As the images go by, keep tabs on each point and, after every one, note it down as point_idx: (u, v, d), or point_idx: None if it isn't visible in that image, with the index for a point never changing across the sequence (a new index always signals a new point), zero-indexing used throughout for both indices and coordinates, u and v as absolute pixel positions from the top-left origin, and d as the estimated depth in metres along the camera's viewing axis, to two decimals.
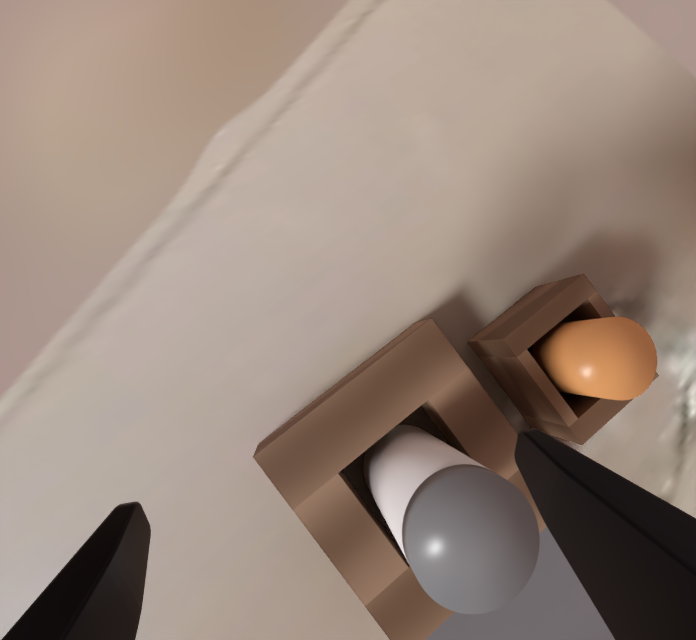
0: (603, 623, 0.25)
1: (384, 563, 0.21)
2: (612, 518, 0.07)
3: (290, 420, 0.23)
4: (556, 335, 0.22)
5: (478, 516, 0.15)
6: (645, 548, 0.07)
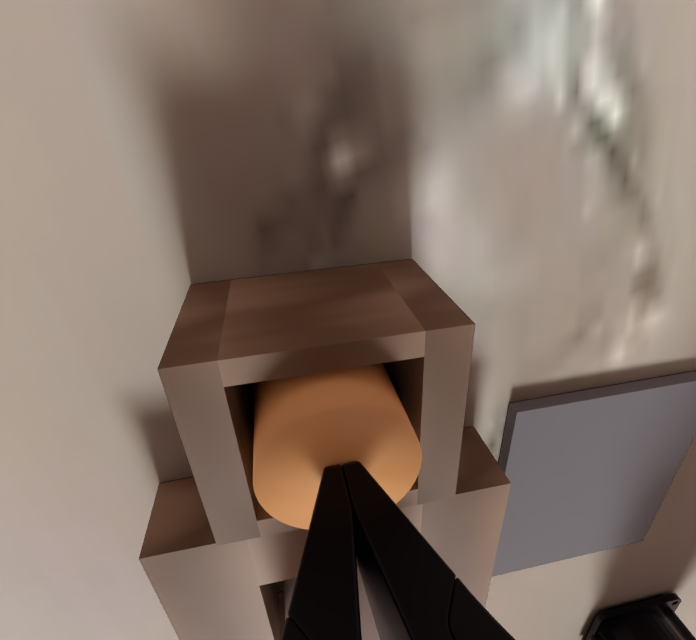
0: (645, 436, 0.19)
1: None
2: (378, 571, 0.07)
3: None
4: None
5: None
6: (393, 608, 0.06)
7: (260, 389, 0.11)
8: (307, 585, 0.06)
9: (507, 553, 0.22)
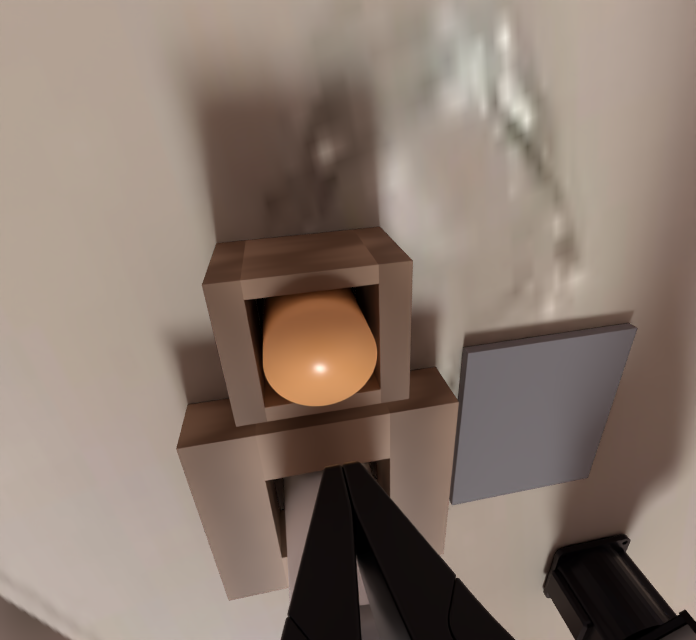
0: (577, 379, 0.24)
1: None
2: (378, 570, 0.07)
3: None
4: None
5: None
6: (393, 608, 0.06)
7: (267, 311, 0.15)
8: (307, 585, 0.06)
9: (470, 482, 0.26)
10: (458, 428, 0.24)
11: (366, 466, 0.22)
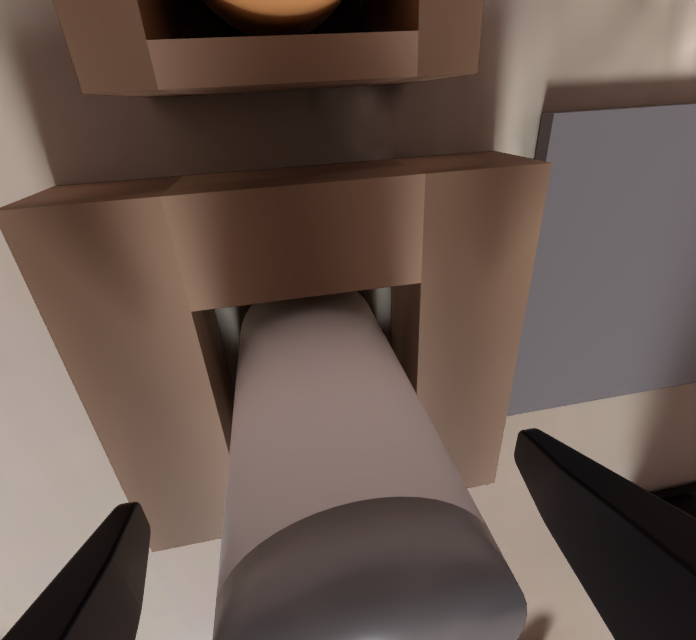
0: None
1: None
2: (612, 518, 0.07)
3: None
4: None
5: None
6: (645, 548, 0.07)
7: None
8: None
9: (531, 378, 0.17)
10: None
11: (376, 321, 0.13)
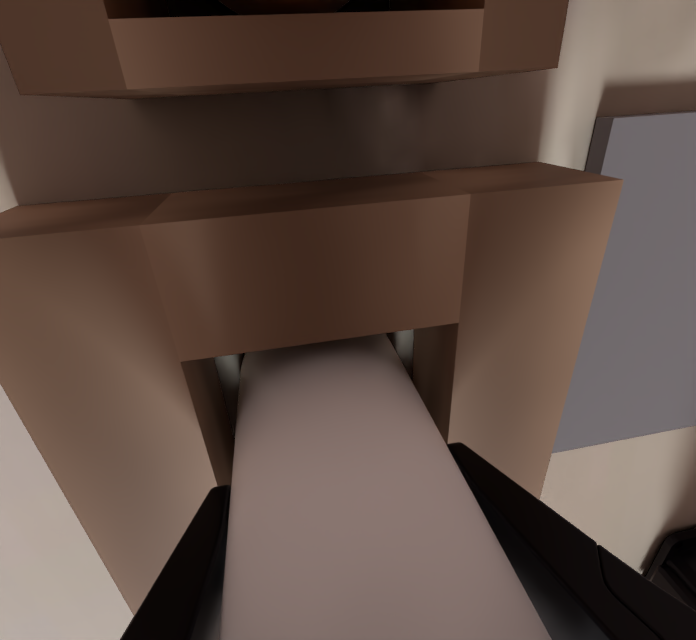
0: None
1: None
2: (514, 540, 0.07)
3: None
4: None
5: None
6: (540, 573, 0.07)
7: None
8: (142, 622, 0.06)
9: (568, 415, 0.15)
10: None
11: (400, 361, 0.11)
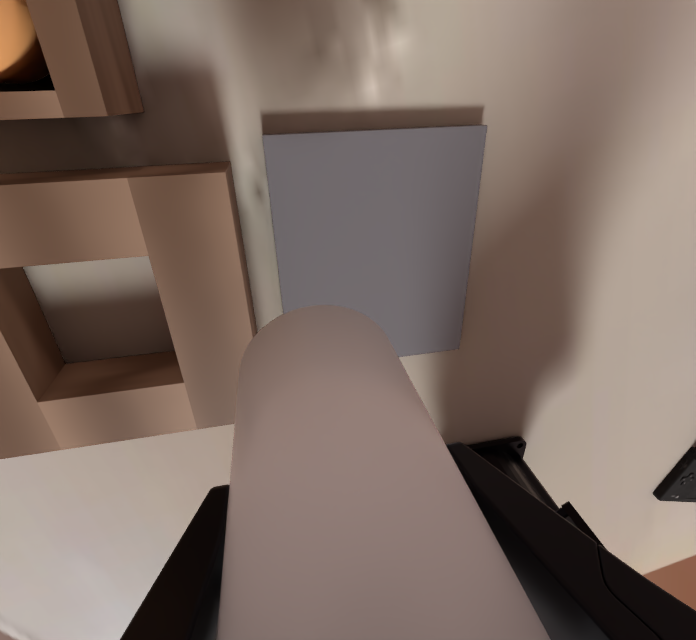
0: (421, 197, 0.19)
1: (165, 400, 0.19)
2: (514, 540, 0.07)
3: None
4: None
5: None
6: (540, 573, 0.07)
7: None
8: (142, 622, 0.06)
9: None
10: (277, 258, 0.20)
11: (399, 361, 0.11)
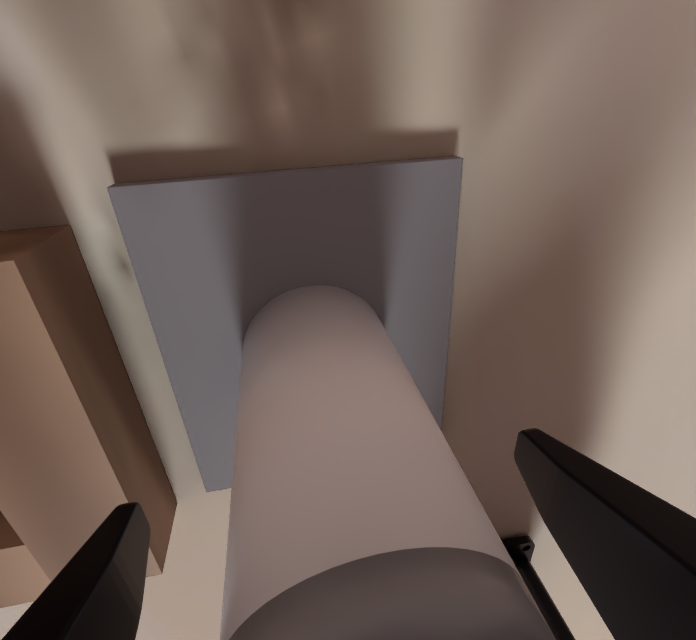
0: (369, 263, 0.13)
1: (2, 567, 0.13)
2: (612, 518, 0.07)
3: None
4: None
5: None
6: (645, 548, 0.07)
7: None
8: None
9: (224, 453, 0.16)
10: (164, 353, 0.14)
11: (387, 334, 0.12)
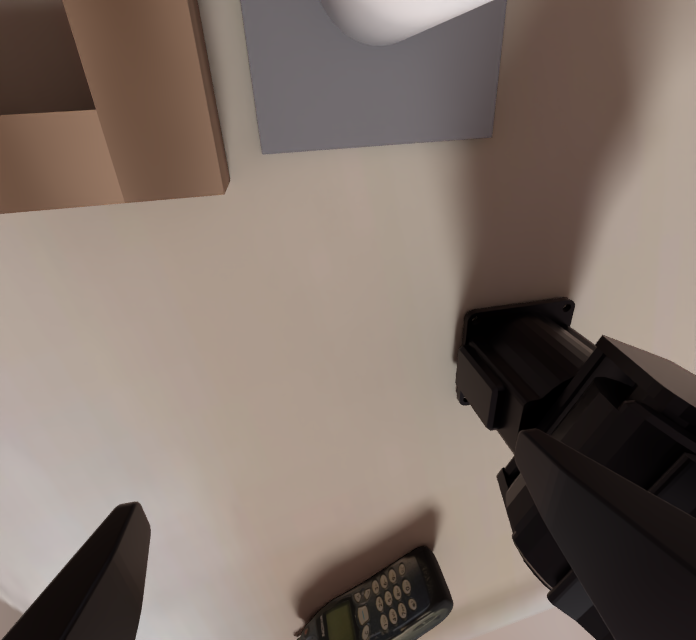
0: None
1: (72, 141, 0.13)
2: (612, 518, 0.07)
3: None
4: None
5: None
6: (645, 548, 0.07)
7: None
8: None
9: (283, 99, 0.16)
10: None
11: None
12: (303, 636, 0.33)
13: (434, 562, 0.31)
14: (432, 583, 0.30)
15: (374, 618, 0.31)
